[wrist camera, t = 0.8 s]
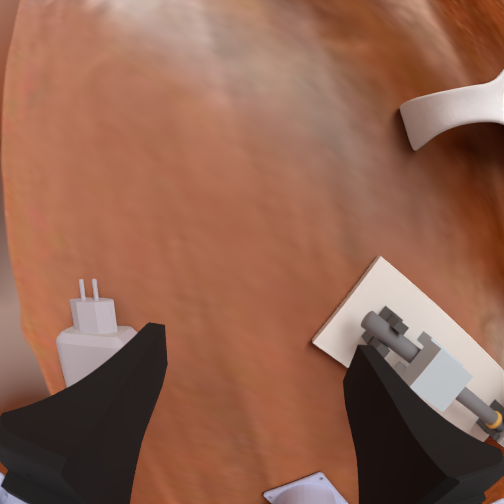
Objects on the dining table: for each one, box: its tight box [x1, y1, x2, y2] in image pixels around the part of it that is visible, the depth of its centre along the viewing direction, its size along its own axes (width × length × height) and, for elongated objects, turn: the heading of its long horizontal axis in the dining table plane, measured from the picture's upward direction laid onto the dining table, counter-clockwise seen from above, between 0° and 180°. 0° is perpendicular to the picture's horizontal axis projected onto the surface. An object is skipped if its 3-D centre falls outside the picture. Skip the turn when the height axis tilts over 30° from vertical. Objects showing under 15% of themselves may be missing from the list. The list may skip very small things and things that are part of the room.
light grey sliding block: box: [393, 331, 473, 412], centre depth 23 cm, size 5×4×4 cm
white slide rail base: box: [312, 255, 504, 447], centre depth 26 cm, size 29×10×6 cm, turn 53°
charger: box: [56, 279, 137, 388], centre depth 30 cm, size 5×9×15 cm
